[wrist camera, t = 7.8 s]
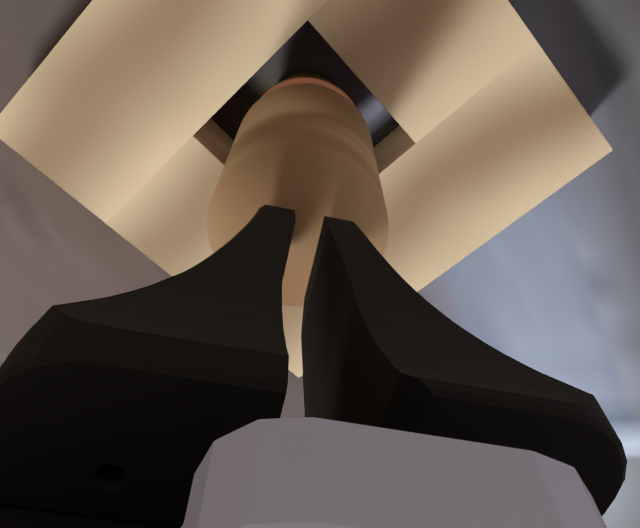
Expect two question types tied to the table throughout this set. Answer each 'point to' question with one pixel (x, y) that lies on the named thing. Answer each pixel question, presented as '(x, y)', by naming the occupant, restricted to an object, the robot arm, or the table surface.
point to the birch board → (245, 60)
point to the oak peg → (301, 172)
